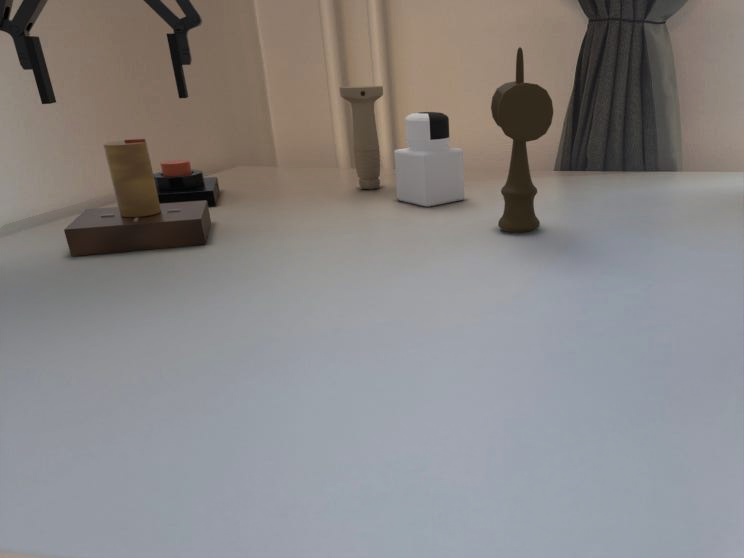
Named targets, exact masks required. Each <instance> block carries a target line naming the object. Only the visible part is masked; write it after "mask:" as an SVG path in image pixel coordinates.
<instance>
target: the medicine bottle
mask: <svg viewBox="0 0 744 558" xmlns="http://www.w3.org/2000/svg"><path fill="white" fill-rule="evenodd" d="M404 125H405V126H404V127H405V139H406V140H405V142H406V145H408V147H404V148H398V149H394V152H393V155H394V168H395V169H394V170H395V183H396V184H395V185H396V197H397V200H398V201H400V202H403V203H408V204H412V205H413V204H414V205H417V206H421V207H425V208H426V207H427V208H429V207H435V206H439V205H444V204H448V203H454V202H459V201H464V200H465V170H464V169H465V167H464V150H463V149H462V148H460V147H459V148H458V147H451V146H448V144H449V143H450V141H451V140H450V118H449V116H448V115H447V114H445V113H443V112H439V111H437V112H436V111H421V112H413V113H410V114H408V115H407V116H406V117H405V118H404Z"/></svg>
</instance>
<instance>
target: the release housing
mask: <svg viewBox="0 0 744 558" xmlns="http://www.w3.org/2000/svg"><path fill="white" fill-rule="evenodd" d="M191 171H192V174H188V175H181V176H163V174H162V171H160V172H156V173H153V175H154V180H155V184H156V189H157V194H158V198H159V203H160V204H163V203H176V202H190V201H204V200H207V203H208V207H216V206H217V202H218V198H219V194H220V191H221V190H220V185H219V180H218V179H219V178H218V177H217V176H211V177H204V172H203V170H199V169H191Z"/></svg>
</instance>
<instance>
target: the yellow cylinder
mask: <svg viewBox="0 0 744 558" xmlns="http://www.w3.org/2000/svg"><path fill="white" fill-rule="evenodd" d="M103 150H104V153H105V157H106V161H107V165H108V170H109V174H110V178H111V183H112V186H113V191H114V194H115V198H116V203H117V207H119V211H120V215H121V216H122V217H144V216H150V215H155V214H158V213H160V212H161V208H160V203H159V198H158V194H157V189H156V184H155V180H154V175H153V174H154V171H153V166H152V162H151V157H150V153H149V148H148V144H147V140H146V138H128V139H124V140H115V141H108V142H105V143H103Z"/></svg>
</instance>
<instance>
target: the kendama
mask: <svg viewBox="0 0 744 558" xmlns="http://www.w3.org/2000/svg"><path fill="white" fill-rule="evenodd" d="M515 60H516V61H515V81H509V82H505V83H503V84H501V85H500V86H499V87H497V88H496V90H495V91H494V93H493V95H492V97H491V103H490V111H491V116H492V117H491V118H492V119H493V120H494V121H493V122H495V124H496V126H498V127H499V128H500V129H501V131H502V132H503V134H504V135H505V136H506V137H508V138H510V139H511V140H512V145H511V155H510V161H509V169H508V175H507V178H506V182H505V184H504V185H503V186H502V187H501V190H500V193H501V195H502V197H503V201H504V206H503V207H504V208H503V213H502V215H501V217H500V218H499V220H498V221H497V226H498V228H499V229H501V230H503V231H506V232H510V233H527V232H531V231H534V230H536V229H538V228H539V227H540V226H541V225H540V224H541V223H540V220H539V218H538V217H537V216H536V213H535V204H534V203H535V202H534V201H535V197H536V195H537V194H538V189H537V187H536V186H535V185H534V183H533V180H532V177H531V171H530V165H529V158H528V157H529V156H528V149H527V143H528V142H532V141H537V140H539V139H540V138H542V137H543V136H545V135H546V134H547V132H548V131H549V129H550V128H551V126H552V123H553V117H554V106H553V100H552V98H551V96H550V94H549V92H548V90H547V89H546V88H543V87H542V86H541V85H539V84H537V83H531V82H525V65H524V63H525V62H524V51H523V48H522V47H521V46H519V47H518V48H517V51H516V58H515Z"/></svg>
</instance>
